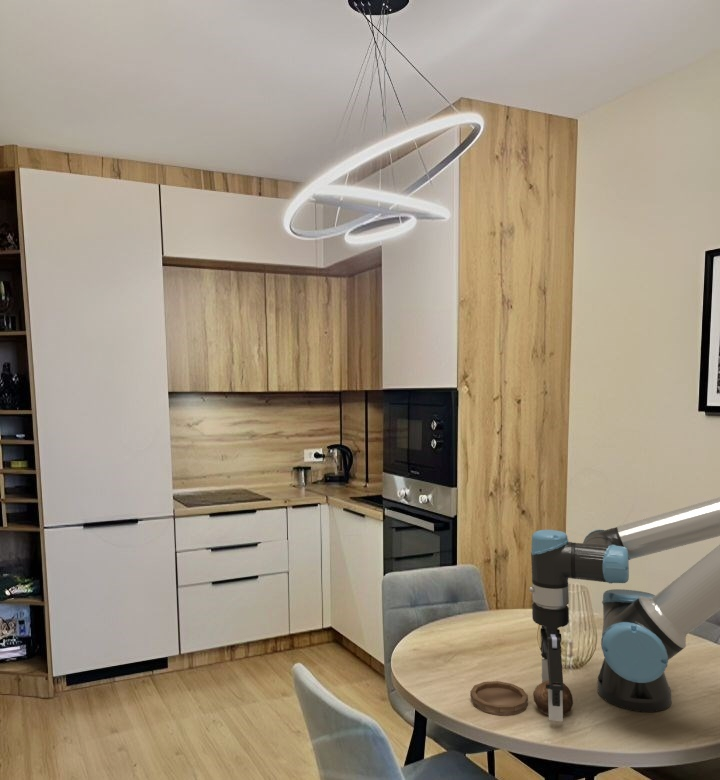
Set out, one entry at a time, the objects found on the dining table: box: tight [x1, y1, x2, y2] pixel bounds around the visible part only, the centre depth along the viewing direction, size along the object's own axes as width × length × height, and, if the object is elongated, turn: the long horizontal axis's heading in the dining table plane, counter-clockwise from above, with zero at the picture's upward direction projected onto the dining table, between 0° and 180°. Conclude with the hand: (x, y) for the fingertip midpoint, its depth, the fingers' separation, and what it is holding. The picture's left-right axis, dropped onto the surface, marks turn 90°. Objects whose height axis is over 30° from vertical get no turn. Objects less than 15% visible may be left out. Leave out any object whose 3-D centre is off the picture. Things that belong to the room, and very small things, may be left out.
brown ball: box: [532, 680, 574, 717], centre depth 129 cm, size 8×8×6 cm
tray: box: [469, 680, 529, 717], centre depth 133 cm, size 12×12×2 cm
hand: (551, 703), depth 129 cm, fingers open, 13 cm apart
